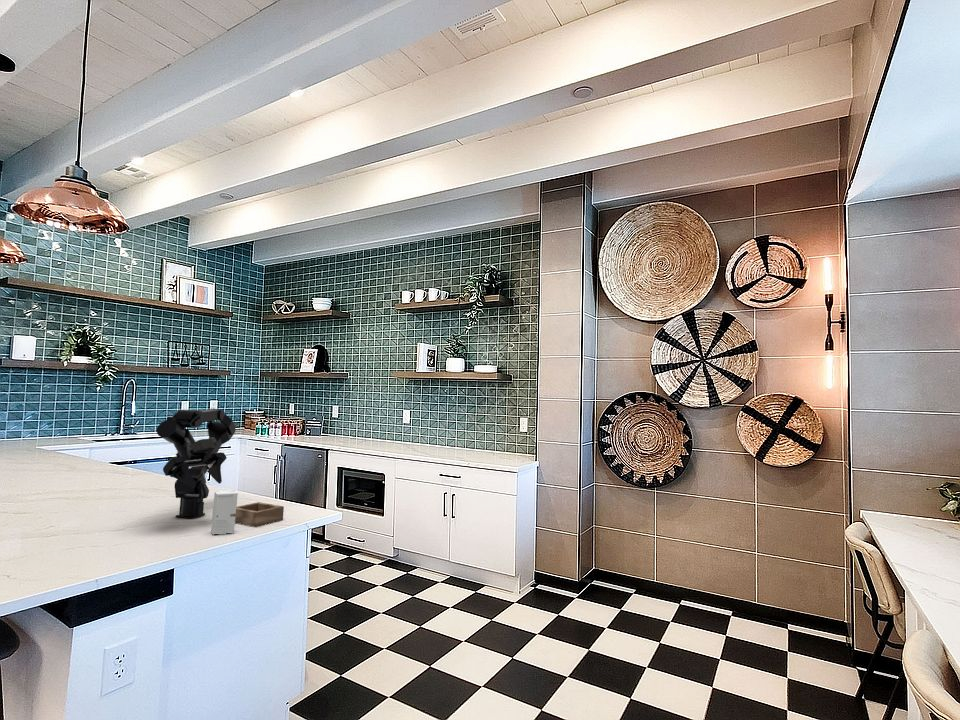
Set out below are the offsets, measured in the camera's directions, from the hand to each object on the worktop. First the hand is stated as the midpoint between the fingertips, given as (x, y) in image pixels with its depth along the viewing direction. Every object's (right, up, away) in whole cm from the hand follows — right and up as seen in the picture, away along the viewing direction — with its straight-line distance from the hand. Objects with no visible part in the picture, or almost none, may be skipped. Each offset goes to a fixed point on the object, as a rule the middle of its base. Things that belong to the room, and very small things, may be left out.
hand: (207, 484), depth 167 cm
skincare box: (+6, -14, -4) cm, 16 cm away
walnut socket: (+10, -15, +11) cm, 21 cm away
